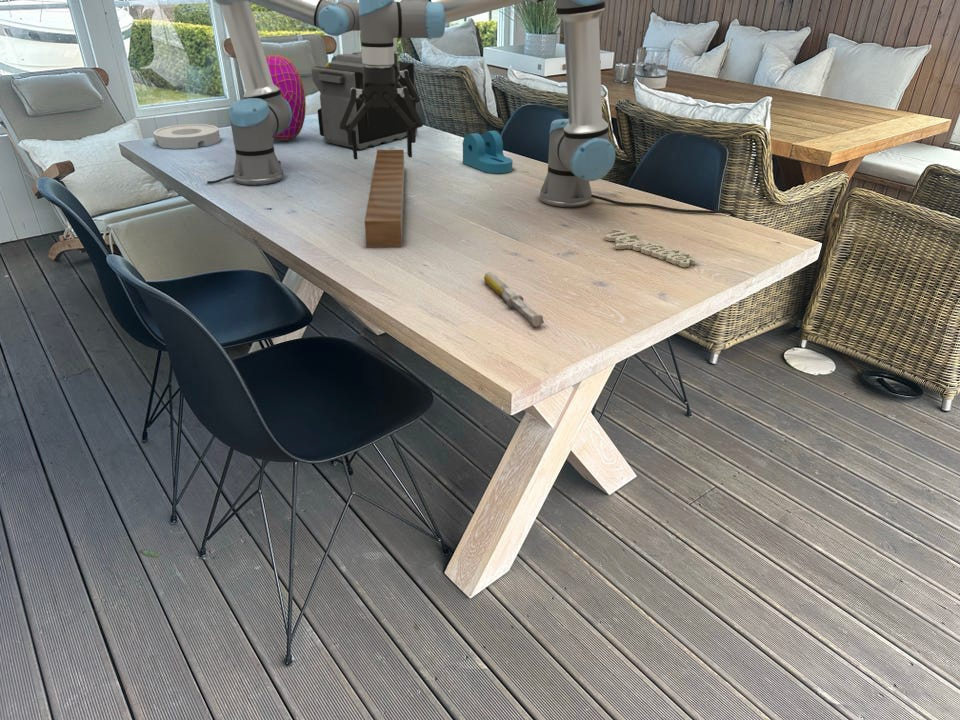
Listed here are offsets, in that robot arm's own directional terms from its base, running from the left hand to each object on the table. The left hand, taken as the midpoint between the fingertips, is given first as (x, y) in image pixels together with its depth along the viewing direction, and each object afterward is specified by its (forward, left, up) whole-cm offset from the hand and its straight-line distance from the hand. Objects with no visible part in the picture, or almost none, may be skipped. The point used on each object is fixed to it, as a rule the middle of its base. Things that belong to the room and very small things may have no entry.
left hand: (388, 125), depth 218 cm
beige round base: (-72, +56, -15) cm, 93 cm away
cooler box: (-4, +50, -15) cm, 53 cm away
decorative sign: (+56, -79, -15) cm, 98 cm away
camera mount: (+34, +3, -15) cm, 37 cm away
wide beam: (-3, -31, -15) cm, 34 cm away
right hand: (-5, -52, +3) cm, 52 cm away
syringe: (+17, -102, -15) cm, 105 cm away
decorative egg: (-37, +53, -15) cm, 66 cm away
